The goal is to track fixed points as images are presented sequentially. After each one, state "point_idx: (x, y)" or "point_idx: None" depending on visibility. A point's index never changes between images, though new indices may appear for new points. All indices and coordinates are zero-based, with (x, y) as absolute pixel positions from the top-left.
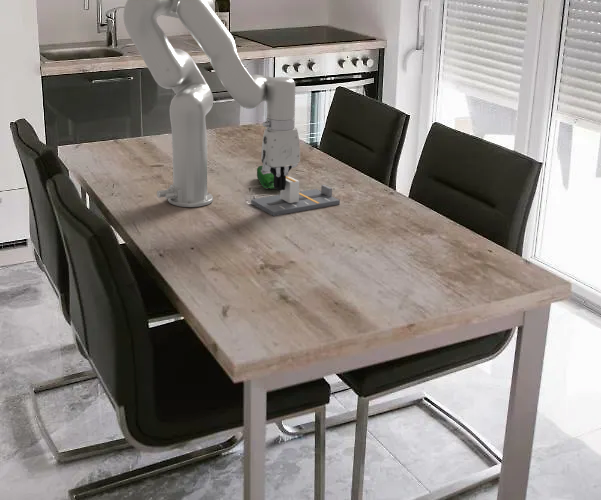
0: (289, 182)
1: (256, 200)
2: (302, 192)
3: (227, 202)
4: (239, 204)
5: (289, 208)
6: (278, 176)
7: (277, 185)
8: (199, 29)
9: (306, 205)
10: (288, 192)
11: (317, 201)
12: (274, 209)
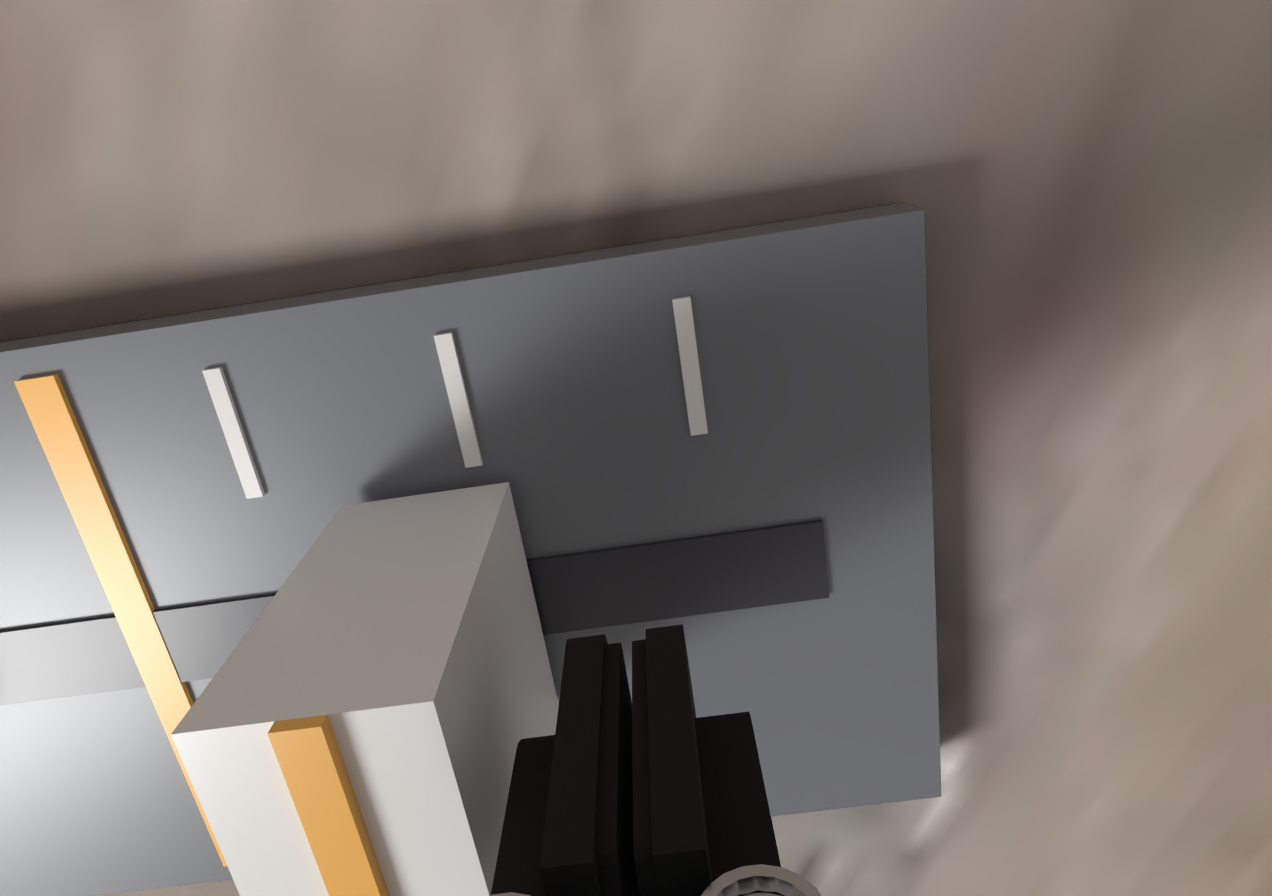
0: (443, 725)
1: (898, 745)
2: (168, 845)
3: (1158, 861)
4: (1070, 769)
5: (592, 286)
6: (753, 885)
7: (729, 727)
8: None
9: (263, 338)
10: (491, 610)
11: (33, 460)
12: (847, 318)
